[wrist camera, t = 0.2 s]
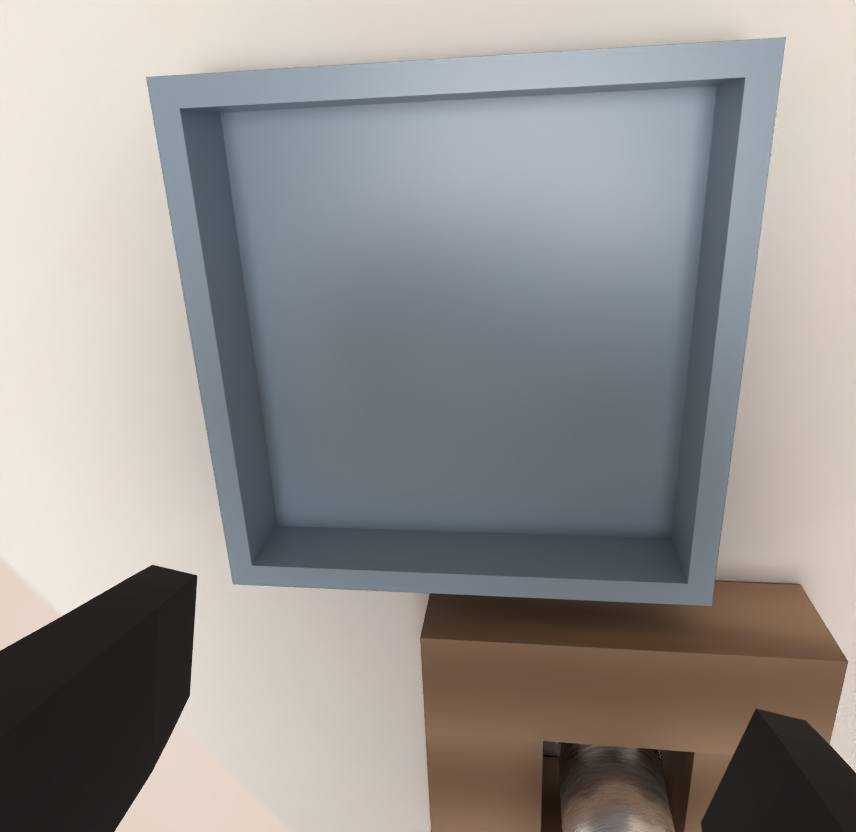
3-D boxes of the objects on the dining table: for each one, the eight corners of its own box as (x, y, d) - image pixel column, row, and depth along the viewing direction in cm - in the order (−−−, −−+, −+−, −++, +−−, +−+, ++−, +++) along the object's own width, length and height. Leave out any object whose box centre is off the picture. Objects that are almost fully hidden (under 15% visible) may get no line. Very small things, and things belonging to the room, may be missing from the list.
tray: (688, 549, 19) (711, 605, 16) (266, 534, 20) (233, 584, 18) (744, 54, 14) (785, 37, 12) (200, 86, 16) (146, 77, 14)
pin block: (752, 844, 22) (784, 943, 20) (445, 816, 24) (435, 905, 21) (800, 584, 19) (847, 661, 16) (434, 570, 20) (420, 638, 17)
